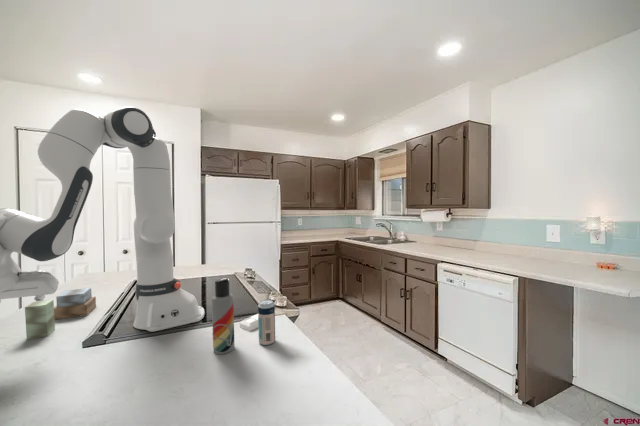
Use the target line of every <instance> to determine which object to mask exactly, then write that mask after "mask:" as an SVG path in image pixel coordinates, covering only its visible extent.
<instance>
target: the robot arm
mask: <svg viewBox="0 0 640 426" xmlns="http://www.w3.org/2000/svg"><path fill="white" fill-rule="evenodd" d="M153 126H154V125H153V123H152V121H151V119H150V118H149V115H147V114H146V112H145V111H143V110H141V109H140V108H138V107H133V106H123V107H119V108H117V109H114V110H113V111H110V112H108V113H107V114H106V115H104V116H98V115H96V114H95V113H93V112H92V111H89V110H86V109H82V108H75V109H70V110H69V111H68V112H66V113H65V114H64V115H63V116H61V118H59V120H58V121H56V122H55V124H54V125H53V126H52V127H51V128H50V129H49V130H48V132H47V133H46V134H45V135H44V137H43V138H42V140H41V141H40V143H39V146H38V149H37V156H38V158H39V162H41V164H42V165H43V166H44V168H46V169H47V171H49V172H50V173H52V175H54V176H55V177H56V178H57V179H58V180H59V181H60V184H61V188H62V189H61V192H60V195H59V197H58V199H57V201H56V204H55V207H54V209H53V211H52V214H51V215H50V217H49V218H47V219H45V218H44V217H43V218H42V217H40V216H37V215H33V214H31V213H28V212H25V211H21V210H19V209H14V208H11V207H9V208H8V207H5V208H0V303H1V302H2V300H6V299H16V298H26V297H34V298H33V299H34V301H35V302H39V301H45V296H46V295H53V294H55V293H56V292H57V290H58V287H59V284H60V283H59V280H58V279H57V277H55V276H54V275H53V274H52V273H51V272H49V271H47V270H29V271H22V269H21V267H20V266H19V265H18V264H17V262H15V260H14V259H13V257H12V254H13V253H14V252H15V253H17V254H21V255H23V256H24V257H25V256H26V257H27V258H30V259H33V260H34V261H37V262H48V261H51V260H54V259H57V258H59V257H61V256H63V255H64V254H66V253H67V252H68V251H69V250H70V248H71V246H72V244H73V241H74V236H75V229H76V227H77V224H78V221H79V219H80V217H81V214H82V211H83V210H84V209H83V208H84V206H85V203H86V201H87V199H88V196H89V194H90V190H91V187H92V184H93V178H94V176H93V172H92V171H91V169H90V168H91V162H92V160H93V158H94V156H95V154H96V153H97V151H98V150H99V148H100V147H101V146H102V145H103V146H106V147H110V148H113V149H125V148H128V150H129V151H130V153H131V156H132V160H133V162H132V163H133V164H132V165H133V166H132V168H133V169H132V170H133V175H132V176H133V195H134V204H135V205H134V206H135V207H134V208H135V218H134V221H133V236H134V237H133V239H134V247H135V248H134V251H135V258H136V284H135V298H136V301H137V302H136V311H135V317H134V322H133V323H132V325H133V327H134V328H135V329H139V330H143V331H144V330H146V331H147V332H150V333H151V332H157V331H163V330H165V329H166V330H168V329H171V328H175V327H180V326H184V325H185V326H186V325H188V324H191V323H197V322H200V321H201V320H202V319H204V317H205V315H206V312H205V309H204V307H203V306H200V305H199V304H198V300H197V298H196V297H195V295H193V294H192V293H191V292H188V291H186V290H184V289H182V287H181V286H182V284H181V280H180V279H179V278H178V279H177V278H175V277H174V276H175V275H174V255H173V251H172V244H171V238H172V236H173V235H174V233H175V230H176V223H175V221H176V220H175V211H174V203H173V197H172V196H173V195H172V185H171V184H172V183H171V181H172V179H171V178H172V177H171V161H170V155H169V150H168V146H167V144H166V142H165V141H164V140H162V139H161V138H158V137H156V136H157V134H156V131H155V129H154V127H153Z"/></svg>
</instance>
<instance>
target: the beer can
mask: <svg viewBox="0 0 640 426" xmlns="http://www.w3.org/2000/svg"><path fill="white" fill-rule="evenodd" d="M275 309H276V308H275V303H274V301H273V300H272V299H263V300H260V301H259V303H258V305H257V314H258V327H257V328H258V343H259V344H260V345H262V346H269V345H272V344H273V343H274V342H276V317H275V316H276V315H275V314H276V313H275V312H276V310H275Z"/></svg>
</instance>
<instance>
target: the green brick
mask: <svg viewBox="0 0 640 426" xmlns="http://www.w3.org/2000/svg"><path fill="white" fill-rule="evenodd" d="M54 303H55V302H54V299H50V300H49V299H48V300H43V301H33V302H31V303H30V304H28V305H26V306H25V307H24V315H25V331H26V332H25V333H26V340H32V339H38V338H43V337H49V335H51V334H52V333H53V332H54V331H55V330H56V323H55V322H56V321H55V320H54V307H55V306H54Z"/></svg>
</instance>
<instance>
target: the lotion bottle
mask: <svg viewBox="0 0 640 426" xmlns="http://www.w3.org/2000/svg"><path fill="white" fill-rule="evenodd" d="M230 285H231V284H230V279H229V278H222V279H219V280H214V295H213V296H212V297H211V317H212V321H211V322H212V347H213V348H212V349H213V353H215V354H217V355H223V354H225V355H226V354H228V353H230V352H232V351H233V350H234V349H235V317H234V316H235V313H234V309H235V308H234V295H233V294H232V293H231V291H230V290H231V289H230Z"/></svg>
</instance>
